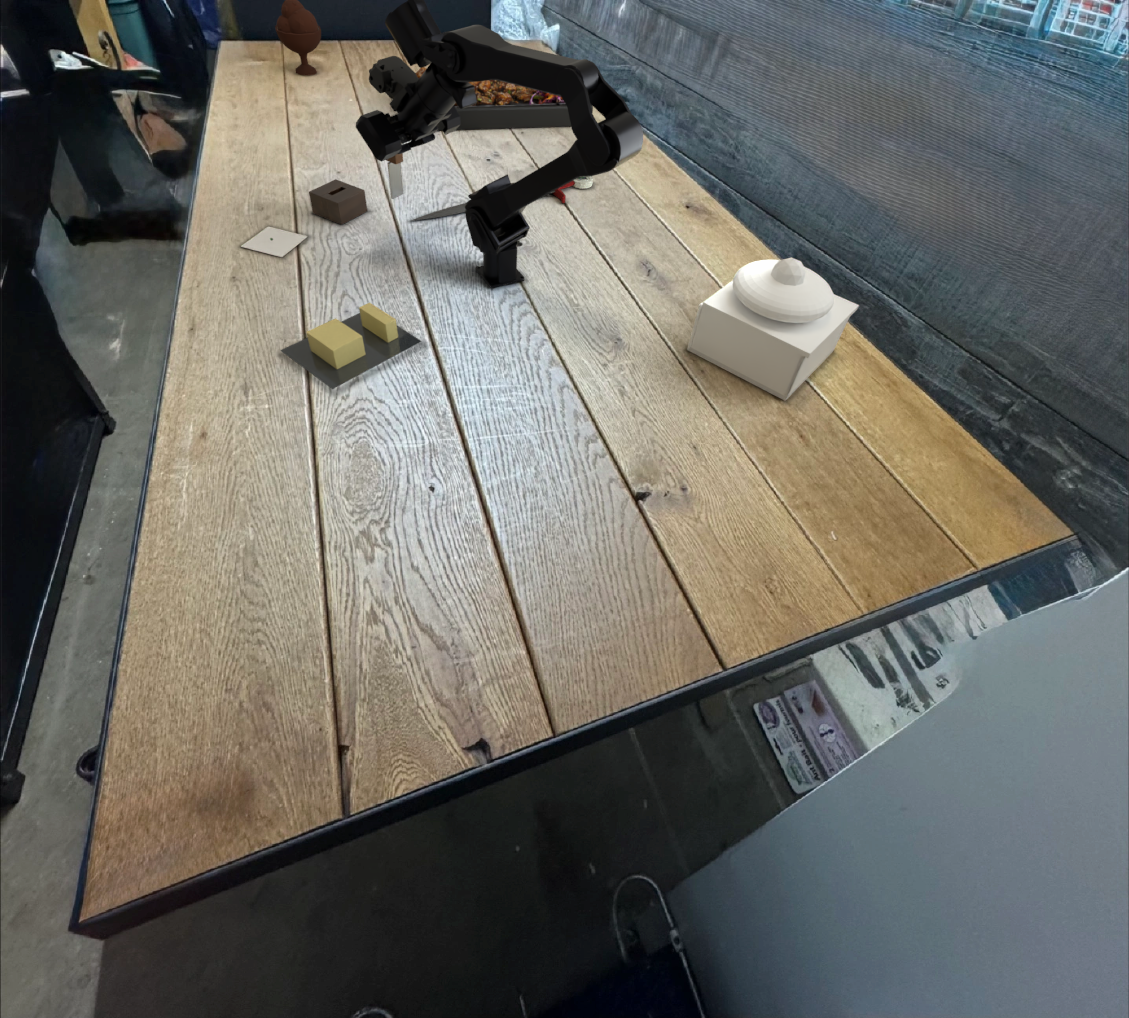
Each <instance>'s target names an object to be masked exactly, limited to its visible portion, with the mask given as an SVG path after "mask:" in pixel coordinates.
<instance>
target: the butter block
mask: <svg viewBox="0 0 1129 1018" xmlns="http://www.w3.org/2000/svg"><path fill="white" fill-rule="evenodd" d="M305 333H306V338H308V341H309V345H310V349H311V351H312V352H314V353H315V354H316V355H318V356H319V357H320V358H322V359H323V360H325V361H326V362H327V363H329V364H330V365H332V366H333V367H334V368H336V369H339V368H341V367H343V366H345V365H347V364H348V363H350V362H352V361H354V360H356V359H358V358H360V357H362V356H364V355H365V349H364V343H363V338H362V336H361V335H360V334H358V333H357V332H355V331H354V330H352V329H351V328H349V327H348V326H346V325H345V324H343V323H342V322H341V320H339V319H337V318H333V319H331V320H328V321H326V322H324V323H322V324H320V325H317V326H316V327H314V328H312V329H309V330H308V331H306V332H305Z"/></svg>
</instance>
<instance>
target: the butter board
mask: <svg viewBox="0 0 1129 1018" xmlns="http://www.w3.org/2000/svg"><path fill="white" fill-rule="evenodd" d="M340 322H342V323H343V324H345V325H346V326H348V327H349V328H351V329H352V330H354V331H355V332H357V333H358V334H360V335H361V336H362V338H363V343H364V349H365V355H364V356H362V357H360V358H358V359H356V360H354V361H352V362H350V363H348V364H347V365H345V366H343V367H341V368H339V369H336V368H334V367H333V366H332V365H330V364H329V363H327V362H326V361H325V360H323V359H322V358H320V357H319V356H318V355H316V354H315V353H314V352H312V351H311V349H310V345H309V341H308V337H306V338H304V339H302V340H299V341H297V342H295V343H293V344H291V345H289V346H287V347H284V348H282V349H280V352H281V353H283V354H284V355H286V356H287V357H288V358H290V359H291V360H292V361H294V362H295V363H297V364H298V365H299V366H301V368H303V369H304V370H306V371H307V372H308V373H310V374H311V375H313V376H314V377H315V378H317V379H318V380H320V381H321V382H322V383H323V384H325V385H326V386H328V387H329V388H330V389H332V390H335V389H336V388H338V387H339V386H341V385H344V384H345V383H347V382H349V381H351V380H353V379H354V378H357V377H358V376H360V375H362V374H364V373H366V372H368V371H370V370H372V369H373V368H375V367H377V366H379V365H380V364H383V363H384V362H387V361H389V360H390V359H392V358H394V357H396V356H397V355H400V354H401V353H403V352H405V351H407V350H409V349H411V348H412V347H415V346H416V345H418V344H420V343H422V340H420V339H419V338H417V336H414V335H413V334H411V333H409V332H408V331H406V330H405V329H403V328H402V327H400V326H399V325H397V331H398V338H396V339H395V340H393V341H391V342H389V343H388V342H386V341H385V340H383V339H382V338H380V337H379V336H377V335H376V334H374V333H373V332H371V331H370V330H368V329H366V328H365V327H363V326H362V321H361V316H360V312H358V313H356V314H355V315H352V316H349V317H347V318H346V319H344V320H340Z"/></svg>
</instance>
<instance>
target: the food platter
mask: <svg viewBox="0 0 1129 1018" xmlns="http://www.w3.org/2000/svg"><path fill="white" fill-rule="evenodd" d="M427 68H428V67H426V66H425V67H423V68H420V67H419V69H418V70H417V71H416V72H415V73H416V75H417V77H418V78H420V77H421V75H422V74H423V73H424V72H425V70H426V69H427ZM469 83H470V84H471V85H474V86H475V89H474V91H475V94H476V99H477V103H476V104H474V105H471V106H469V107H466V108H463V109H460V108H459V107H458V105H457V103H455V104H454V106H455V108H456V110H457V111H458V113H459V115H460V123H461V125H460V126H459V127H458V128H457V129H456V130H455V131H469V130H470V131H472V130H473V131H475V130H503V129H536V128H537V129H538V128H540V129H541V128H568V127H569V128H570V127H571V122H570V118H569V113H568V108H567V106H566V104H565V102H564V100H563V99H562V97H561V96H557V95H553V94H549V93H545V92H541V91H537V90H533V89H530V88H526V87H522V86H518V85H514V84H510V83H506V82H502V81H499V80H487V81H478V82H469ZM590 105H591V104H590ZM591 110H592V114H594V113H593V111H594V107H593V106H592V105H591ZM437 127H438V130H437V131H436V132H438V131H439V132H440V131H442V132H443V129H444V128H445V126H444V124H443V123H442V121H440V122H439V123H438V124H437ZM571 128H572V127H571Z"/></svg>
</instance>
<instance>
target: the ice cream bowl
mask: <svg viewBox="0 0 1129 1018" xmlns="http://www.w3.org/2000/svg"><path fill="white" fill-rule="evenodd" d="M274 28H275V32H276V34H277V35H276V36H277V37H278V39H279V40H280V42H281V44H283V46H285V47H286V48H287V49H288V50H290V51H291V52H292V53H293V52H294V53H296V54H298V56H299V58H300V64H299V65H297V66H296V67H295V70H294V71H295V74H297V75H299V76H314V75H317V74H318V71H317V68H316V67H314V66H313V65H312V64H310V63H309V61H308V54H310V53H311V52H313V51H315V49H317V48H318V46H319V44H320V43H321V39H322V28H321V26H320V25H319V24H318V21H317V19H316V17H315V15H314V14H313V13H312V12H311V11H310V10H308V9H306V8H305V7H304V5H303V4H302V3H301V2H300V1H299V0H284V1H283V2H282V4H281V13H280V15H279V16H278V18H277V19H276V25H274Z"/></svg>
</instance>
